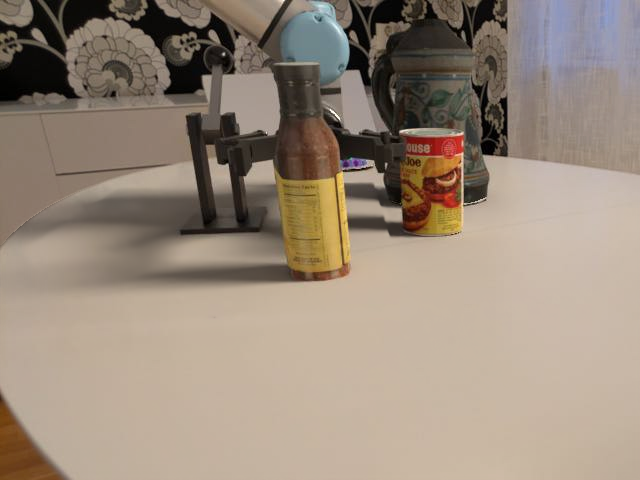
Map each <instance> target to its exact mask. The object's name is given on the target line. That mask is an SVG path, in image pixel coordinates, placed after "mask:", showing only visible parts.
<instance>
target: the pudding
mask: <svg viewBox="0 0 640 480" xmlns="http://www.w3.org/2000/svg"><path fill="white" fill-rule="evenodd" d="M367 161H372V160H365V159H358V158H351V159H349V160H342V161H341V160H340V163H341V169H356V168H364V167H361V166H364V165H366V164H367ZM373 162H374V161H373ZM373 166H374V165H371V166H365V167H367V168H369V167H373Z"/></svg>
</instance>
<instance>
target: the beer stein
mask: <svg viewBox="0 0 640 480" xmlns="http://www.w3.org/2000/svg"><path fill="white" fill-rule="evenodd" d="M476 57H477V55H476V53H474V51H473V50H472V48H471V46H469V45H468V43H466V42H465V41H463V40H462V39H461V38H460V37H459V36H458V35H457V34H456V33H455V32H454V31H453V29H451V28H450V26H449V25H448V23H447V19H442V18H414V19H412V20H411V23H410V26H409V27H408V28H407V29H406V30H401V31H396V32H394V33H391V34H390V35H389V36H388V38H387V40H386V43H385V53H382V54H380V55H379V56H378V57H377V59H376V61H375V62H374V67H373V69H372V72H371V77H370V89H371V95H372V99H373V103H374V106H375V108H376V111H377V112H378V114H379V117H380V119H381V120H382V122H383V123H384V125H385V127H386V128H387V131H390V135H394V136H399V131H401V130H406V129H417V128H444V129H456V130H461V131H463V204H464V203H471V202H475V201H478V200H480V199H483V198H485V197H487V198H488V190H489V188H488V187H489V183H490V180H491V179H490V178H491V177H490V172H489V169H488V167H487V166H486V163H485V160H484V155H483V150H482V147H481V141H480V135H479V130H478V123H477V116H476V110H475V109H476V108H475V101H474V92H473V85H472V84H473V83H472V71H473V69H474V67H475V62H476V59H477V58H476ZM393 75H395V77H396V80H395V81H396V83H395V90H394V100H393V97H392V92H391V81H392V77H393ZM385 170H386V173H383V176H382V179H383V180H382V181H383V185H384V188H385V191H386V195H387V199H388V198H389V199H388V201H389V200H391V201H393V202H396V203H401V204H402V199H401V174H400V162H399V161H396V160H393V161H392V162H388V163H386V166H385ZM391 201H390V202H391ZM393 202H392V203H393ZM396 203H395V204H396Z"/></svg>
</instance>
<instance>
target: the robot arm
mask: <svg viewBox="0 0 640 480" xmlns="http://www.w3.org/2000/svg"><path fill="white" fill-rule="evenodd" d="M195 1H196V2H197V3H198V4H200V5H202V6H203V7H204V8H205V9H207V10H208V11H209V12H211V13H212V14H213V15H215V16H216V17H217V18H219V20H221V21H223V22H224V23H225V24H226V25H228V26H229V27H230V28H232V29H233V30H235V31H236V32H237V33H238V34H240V35H241V36H242V37H244V38H245V39H247V40H248V41H249V42H250V43H251V44H253V45H254V46H256V47H257V48H258V49H259V50H261V51H262V52H263V53H264V54H265V55H267V56H268V57H269V58H271V59H272V60H274V61H275V63H284V62H286V63H287V62H288V63H290V62H315V63H319V65H320V71H321V79H320V94H321V102H322V108H323V118H324V120H325V122H326V123H327V124H328V126H329V127H330V128H331V130H332V131H333V133H334V135H335V137H336V139H337V142H338V145H339V151H340V160H341V161H342V160H349V159H351V158H358V159H365V160H372V161H374V164H375V165H374V167H375V169H376V172H377V174H384V173H386V164H387V163H388V162H392V161H393V160H396V161H399V162H404V161H406V160H407V158H406V138H405V137H403V136H394V135H392V134H391V133H390V131H389V130H385V131H380V132H376V131H373V130H370V129H368V128H364V129H363V130H361V131H358V134H354V133H351V132H350V130H349V129H348V128H345V119H344V109H343V93H342V86H341V77H342V75H343V74H344V73H345V71H346V69H347V66H348V64H349V61H350V44H349V40H348V35H347V34H346V33H345V31H344V29H343V26H342V25H341V24H339V22H337V15H336V9H335V7H334V5H333V4H331V2H330V3H329V2H325V1H320V0H319V1H317V0H195ZM277 135H278V129H276V131H275V133H274V134H270V135H268V132H267V131H265V130H262V129H257V130H254V131H252V132H249V133H243V134H240V135H238V136H232V137H227V138H217V139H215V140H214V144H215V145H214V150H215V157H216V163H217V165H220V166H226V165H228V164H234V167H235V172H237V175H238V177H239V176H244V177H247V175H248V174H249V172H250V171H251V169H252V168H253V164H255V163H261V162H268V161H273V157H274V154H275V148H276V141H277Z"/></svg>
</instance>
